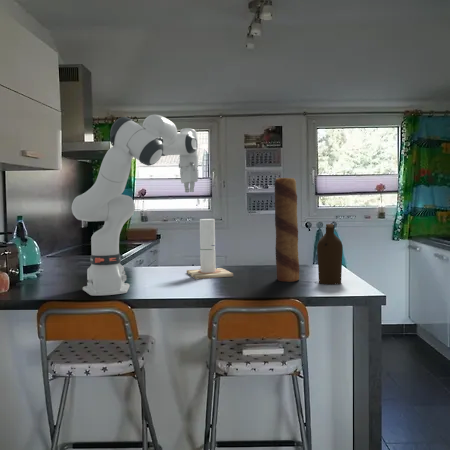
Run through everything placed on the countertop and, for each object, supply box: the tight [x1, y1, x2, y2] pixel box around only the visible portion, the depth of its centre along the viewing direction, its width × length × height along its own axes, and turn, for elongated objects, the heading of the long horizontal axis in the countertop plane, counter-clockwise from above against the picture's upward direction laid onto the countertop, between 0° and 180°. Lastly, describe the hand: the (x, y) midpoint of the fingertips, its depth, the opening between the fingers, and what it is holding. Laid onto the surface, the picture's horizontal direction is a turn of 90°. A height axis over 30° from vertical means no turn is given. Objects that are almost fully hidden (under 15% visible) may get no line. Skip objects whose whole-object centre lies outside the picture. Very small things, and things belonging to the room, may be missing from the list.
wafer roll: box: [274, 177, 300, 283], centre depth 206 cm, size 10×11×45 cm
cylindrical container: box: [199, 218, 216, 273], centre depth 224 cm, size 7×7×25 cm
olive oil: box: [316, 223, 344, 286], centre depth 199 cm, size 11×11×25 cm
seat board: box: [186, 267, 234, 280], centre depth 225 cm, size 18×18×2 cm
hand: (189, 192), depth 225 cm, fingers open, 8 cm apart
